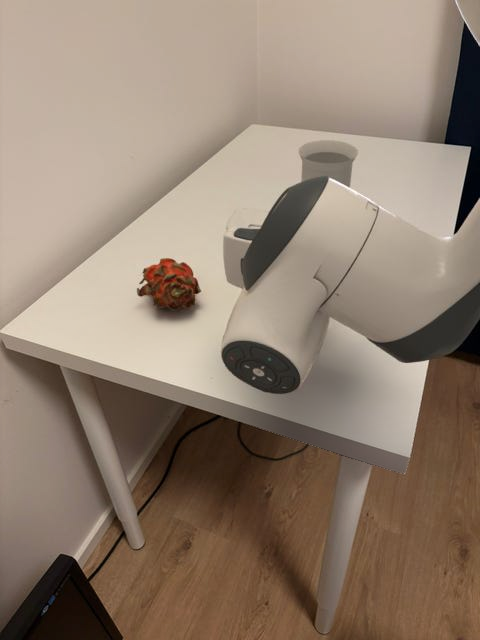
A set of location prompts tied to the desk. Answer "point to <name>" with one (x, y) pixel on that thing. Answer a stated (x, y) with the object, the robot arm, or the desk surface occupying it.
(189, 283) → the dragon fruit
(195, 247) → the desk surface
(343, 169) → the chalice
